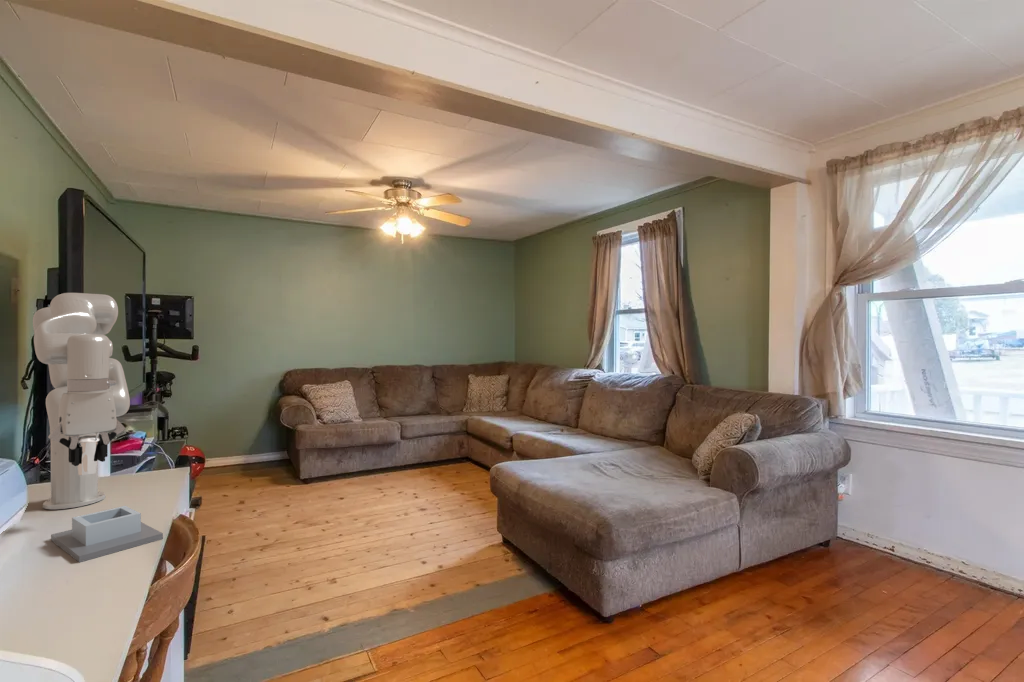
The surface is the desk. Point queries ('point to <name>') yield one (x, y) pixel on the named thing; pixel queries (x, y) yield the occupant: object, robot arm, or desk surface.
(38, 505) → the desk surface
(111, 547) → the housing
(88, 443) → the milkshake
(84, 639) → the desk surface
